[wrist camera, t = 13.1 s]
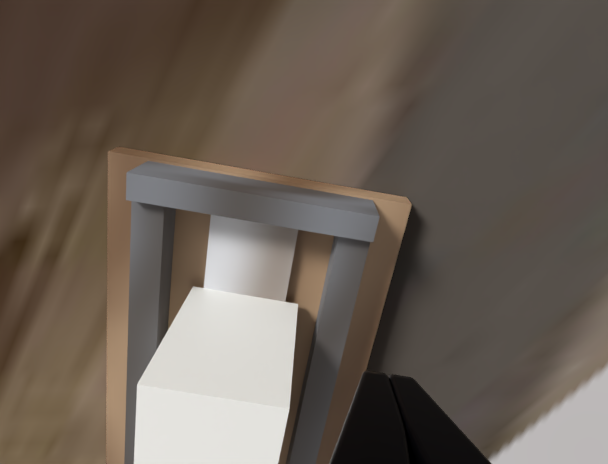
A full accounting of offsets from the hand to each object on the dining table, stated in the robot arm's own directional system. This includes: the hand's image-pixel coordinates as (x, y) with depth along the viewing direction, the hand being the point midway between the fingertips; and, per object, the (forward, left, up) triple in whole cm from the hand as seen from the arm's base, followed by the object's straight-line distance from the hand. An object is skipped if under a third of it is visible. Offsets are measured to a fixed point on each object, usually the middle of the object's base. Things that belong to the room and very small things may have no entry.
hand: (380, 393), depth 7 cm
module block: (+3, +8, -10) cm, 14 cm away
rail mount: (+3, +8, -11) cm, 15 cm away
